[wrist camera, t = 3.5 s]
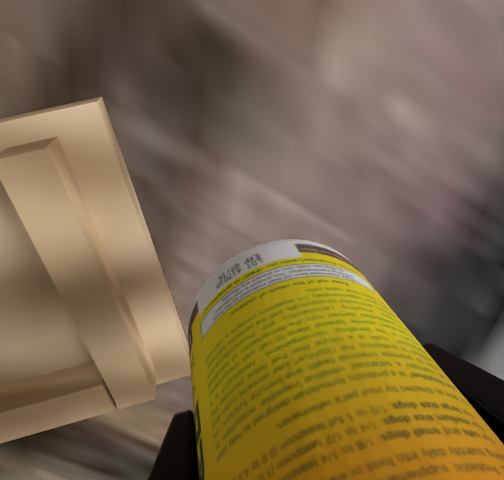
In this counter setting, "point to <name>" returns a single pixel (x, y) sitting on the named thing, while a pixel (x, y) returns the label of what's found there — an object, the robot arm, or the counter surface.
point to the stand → (76, 276)
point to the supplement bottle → (321, 379)
